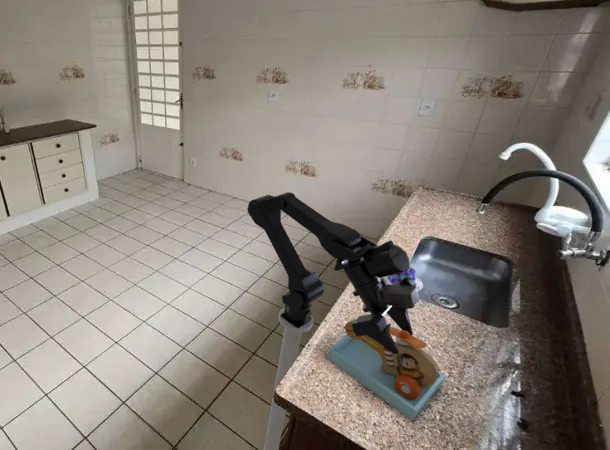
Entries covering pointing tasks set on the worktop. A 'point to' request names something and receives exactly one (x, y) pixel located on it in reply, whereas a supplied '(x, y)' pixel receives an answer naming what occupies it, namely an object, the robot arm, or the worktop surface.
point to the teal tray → (377, 375)
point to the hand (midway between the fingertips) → (403, 344)
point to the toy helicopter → (403, 361)
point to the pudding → (398, 277)
